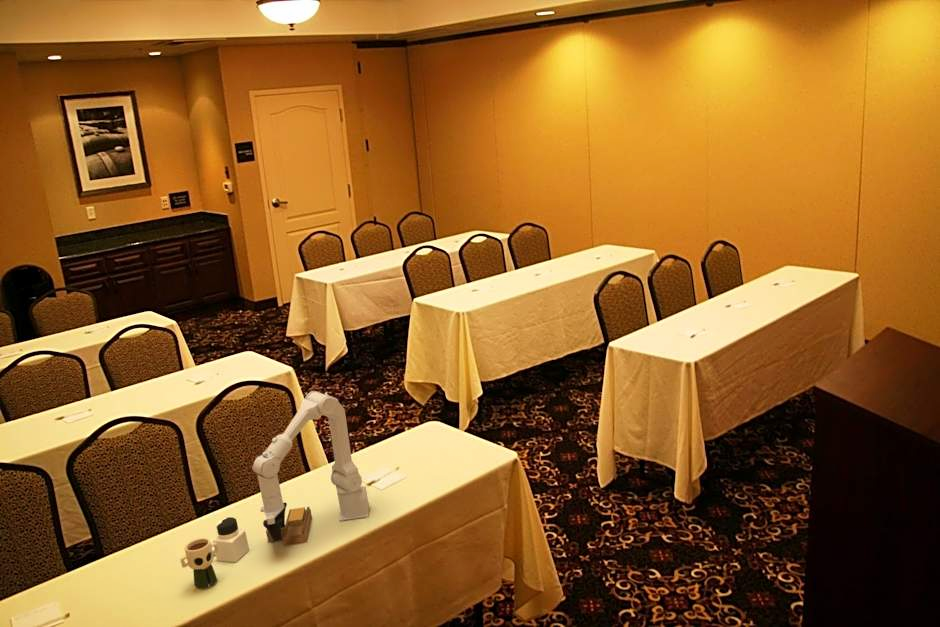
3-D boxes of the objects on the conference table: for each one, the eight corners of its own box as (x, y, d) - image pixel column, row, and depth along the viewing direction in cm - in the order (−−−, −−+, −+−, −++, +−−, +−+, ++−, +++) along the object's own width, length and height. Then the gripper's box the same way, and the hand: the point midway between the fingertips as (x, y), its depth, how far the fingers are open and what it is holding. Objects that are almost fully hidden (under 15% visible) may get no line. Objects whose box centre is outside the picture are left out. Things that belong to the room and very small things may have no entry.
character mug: (193, 597, 220) (183, 556, 217) (183, 588, 225) (174, 548, 222) (229, 579, 226) (220, 540, 223) (219, 571, 232) (210, 532, 229)
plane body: (312, 517, 257) (309, 506, 256) (306, 542, 242) (304, 530, 241) (274, 523, 257) (271, 512, 256) (266, 548, 241) (264, 537, 240)
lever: (274, 542, 236) (272, 533, 235) (270, 543, 236) (268, 534, 235) (271, 526, 246) (269, 518, 245) (267, 527, 245) (265, 519, 245)
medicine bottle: (249, 550, 242) (242, 515, 239) (236, 562, 235) (228, 527, 232) (230, 548, 244) (223, 514, 241) (216, 561, 238) (208, 526, 235)
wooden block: (305, 512, 255) (304, 507, 254) (303, 524, 247) (302, 519, 246) (292, 514, 254) (291, 509, 254) (289, 526, 247) (288, 521, 246)
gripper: (261, 484, 242) (269, 524, 245) (253, 507, 228) (262, 548, 231) (284, 481, 242) (292, 520, 245) (277, 503, 228) (286, 544, 231)
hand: (279, 533), depth 238 cm, fingers open, 7 cm apart
